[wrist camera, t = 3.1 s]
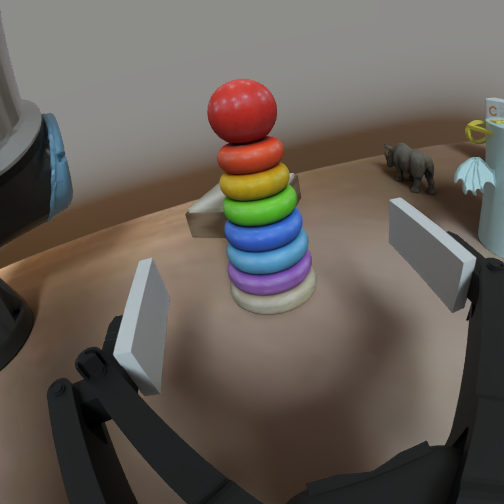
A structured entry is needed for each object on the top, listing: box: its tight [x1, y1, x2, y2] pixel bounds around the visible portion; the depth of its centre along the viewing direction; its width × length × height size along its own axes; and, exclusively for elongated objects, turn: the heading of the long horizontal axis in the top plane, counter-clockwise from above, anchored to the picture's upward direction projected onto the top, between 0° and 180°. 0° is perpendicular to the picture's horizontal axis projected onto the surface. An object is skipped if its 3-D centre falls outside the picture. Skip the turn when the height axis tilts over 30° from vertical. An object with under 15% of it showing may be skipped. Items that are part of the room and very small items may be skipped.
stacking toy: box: [207, 79, 317, 314], centre depth 25 cm, size 8×8×19 cm
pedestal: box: [185, 173, 301, 238], centre depth 44 cm, size 12×12×4 cm
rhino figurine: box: [384, 143, 436, 194], centre depth 44 cm, size 4×14×6 cm, turn 6°
